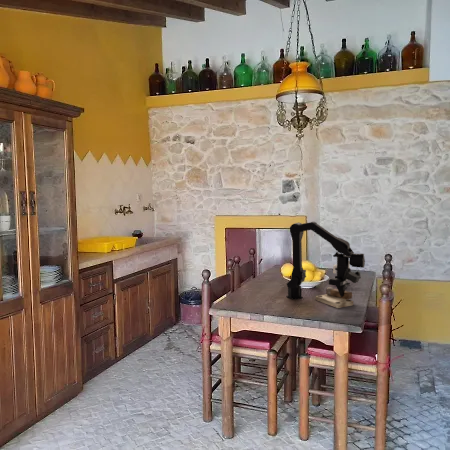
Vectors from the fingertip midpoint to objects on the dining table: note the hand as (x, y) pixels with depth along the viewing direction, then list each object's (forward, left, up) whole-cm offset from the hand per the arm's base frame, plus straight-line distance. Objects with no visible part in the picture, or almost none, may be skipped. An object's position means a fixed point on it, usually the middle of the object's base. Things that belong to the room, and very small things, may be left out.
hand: (342, 296), depth 219 cm
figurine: (+25, +30, -3) cm, 40 cm away
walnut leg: (+2, +4, -1) cm, 5 cm away
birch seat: (-3, +3, -3) cm, 5 cm away
